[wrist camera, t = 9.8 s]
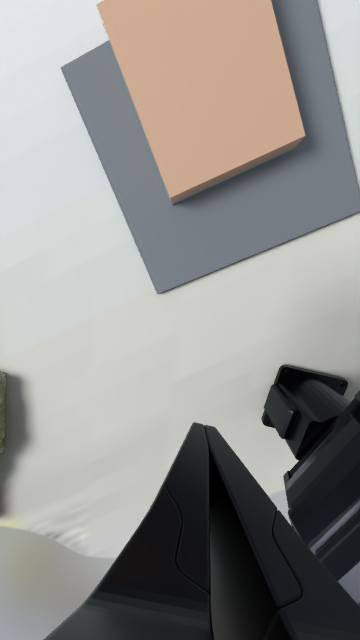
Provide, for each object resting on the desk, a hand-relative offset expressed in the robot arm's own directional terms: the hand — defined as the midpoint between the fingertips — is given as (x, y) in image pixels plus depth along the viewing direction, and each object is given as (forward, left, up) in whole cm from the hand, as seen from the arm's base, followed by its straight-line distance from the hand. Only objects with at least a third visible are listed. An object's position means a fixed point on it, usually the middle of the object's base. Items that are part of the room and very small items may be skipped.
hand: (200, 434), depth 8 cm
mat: (+2, -16, -13) cm, 20 cm away
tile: (0, -13, -12) cm, 18 cm away
